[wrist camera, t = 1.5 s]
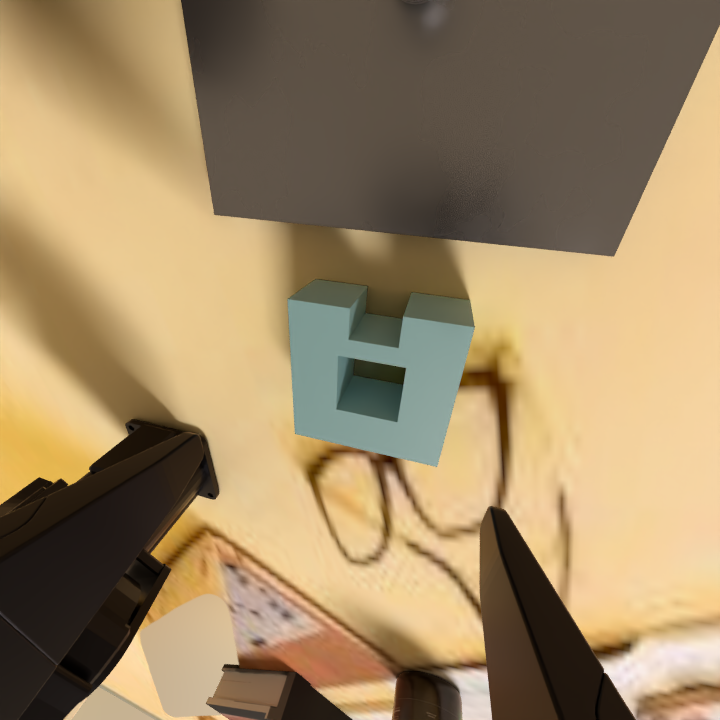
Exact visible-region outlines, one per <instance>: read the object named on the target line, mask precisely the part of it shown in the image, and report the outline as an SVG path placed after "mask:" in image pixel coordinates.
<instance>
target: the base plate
mask: <svg viewBox="0 0 720 720" xmlns="http://www.w3.org/2000/svg"><path fill="white" fill-rule="evenodd" d="M181 3H182V9H183V16H184V22H185V29H186V35H187V42H188V48H189V54H190V61H191V67H192V74H193V80H194V87H195V93H196V100H197V106H198V112H199V119H200V125H201V132H202V138H203V145H204V151H205V157H206V164H207V170H208V177H209V183H210V190H211V196H212V203H213V209H214V215H221V216H231V217H240V218H250V219H260V220H269V221H279V222H288V223H298V224H307V225H317V226H327V227H336V228H346V229H355V230H365V231H375V232H384V233H394V234H403V235H413V236H422V237H432V238H442V239H451V240H461V241H470V242H480V243H490V244H499V245H509V246H518V247H528V248H538V249H547V250H557V251H566V252H576V253H585V254H595V255H605V256H614V255H615V253H616V251H617V249H618V247H619V244H620V242H621V240H622V238H623V236H624V233H625V231H626V229H627V227H628V225H629V223H630V220H631V218H632V216H633V214H634V212H635V209H636V207H637V205H638V203H639V201H640V198H641V196H642V194H643V192H644V190H645V187H646V185H647V183H648V181H649V179H650V176H651V174H652V172H653V170H654V168H655V166H656V163H657V161H658V159H659V157H660V155H661V152H662V150H663V148H664V146H665V144H666V141H667V139H668V137H669V135H670V133H671V130H672V128H673V126H674V124H675V122H676V120H677V117H678V115H679V113H680V111H681V109H682V106H683V104H684V102H685V100H686V98H687V95H688V93H689V91H690V89H691V87H692V84H693V82H694V80H695V78H696V76H697V73H698V71H699V69H700V67H701V65H702V63H703V60H704V58H705V56H706V54H707V52H708V49H709V47H710V45H711V43H712V41H713V38H714V36H715V34H716V32H717V30H718V27H719V25H720V0H181Z"/></svg>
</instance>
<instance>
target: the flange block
mask: <svg viewBox="0 0 720 720" xmlns="http://www.w3.org/2000/svg"><path fill="white" fill-rule="evenodd" d="M367 288H368V286H363V285H355V284H348V283H341V282H333V281H326V280H319V279H315V280H314V281H312V282H311V283H309V284H308V285H307V286H305V287H304V288H302V289H301V290H300V291H298V292H297V293H295V294H294V295H293V296H291V297H290V298H288V316H289V334H290V352H291V370H292V389H293V407H294V425H295V434H298V435H302V436H306V437H311V438H315V439H319V440H324V441H328V442H332V443H336V444H341V445H345V446H349V447H354V448H358V449H362V450H367V451H371V452H375V453H379V454H384V455H388V456H392V457H397V458H401V459H405V460H410V461H414V462H418V463H422V464H427V465H431V466H435V467H437V466H438V462H439V458H440V454H441V451H442V447H443V443H444V440H445V436H446V432H447V428H448V425H449V421H450V417H451V414H452V410H453V406H454V402H455V399H456V395H457V391H458V388H459V384H460V380H461V376H462V373H463V369H464V365H465V362H466V358H467V354H468V350H469V347H470V343H471V339H472V336H473V332H474V328H475V326H474V320H473V314H472V309H471V303H470V300H465V299H458V298H451V297H443V296H436V295H429V294H421V293H414V292H412V293H411V296H410V298H409V301H408V304H407V307H406V310H405V313H404V316H403V319H401V318H395V317H388V316H382V315H375V314H368V313H366V301H367ZM354 359H359V360H365V361H370V362H376V363H381V364H387V365H392V366H398V367H404V368H406V372H405V379H404V385H402V384H397V383H392V382H387V381H381V380H376V379H371V378H366V377H360V376H355V375H354Z"/></svg>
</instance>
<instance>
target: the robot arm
mask: <svg viewBox="0 0 720 720" xmlns="http://www.w3.org/2000/svg"><path fill="white" fill-rule="evenodd" d="M125 426H126V429H127V431H128V433H129V436H128V437H126V438H125V439H124V440H122V441H121V442H120V443H119V444H117V445H116V446H115V447H114V448H112V449H111V450H110V451H108V452H107V453H106V454H105V455H103V456H102V457H101V458H100V459H98V460H97V461H96V462H94V463H93V464H92V465H91V466H90V467H89V470H90V472H88V473H87V474H86V475H85V476H83V477H82V478H81V479H80V480H78V481H77V482H76V483H74V484H72V485H69V486H67V485H68V484H67V483H66V482H65V481H64V480H63V479H59V480H57V481H56V482H54V483H52V482H51V481H48V480H45V479H42V478H40V477H39V478H37V479H36V480H35V481H33V482H32V483H30V484H29V485H28V486H26V487H25V488H23V489H22V490H21V491H19V492H18V493H16V494H15V495H14V496H12V497H11V498H9V499H8V500H7V501H5V502H4V503H3V504H1V505H0V720H63V719H64V718H65V717H66V716H67V715H68V714H69V713H70V712H71V711H72V710H73V709H74V708H75V707H76V706H77V705H78V704H79V703H80V702H82V701H83V700H84V699H85V698H87V697H88V696H89V695H90V694H91V693H92V692H93V691H94V690H95V689H96V688H97V687H98V686H99V685H100V684H101V683H102V682H103V681H104V680H105V678H106V677H107V676H108V675H109V674H110V672H111V671H112V670H113V669H114V667H115V666H116V665H117V663H118V662H119V661H120V659H121V658H122V656H123V655H124V653H125V652H126V650H127V648H128V647H129V645H130V643H131V642H132V640H133V638H134V636H135V634H136V633H137V631H138V629H139V627H140V625H141V624H142V622H143V620H144V618H145V616H146V615H147V613H148V611H149V609H150V607H151V606H152V604H153V602H154V600H155V598H156V597H157V595H158V593H159V591H160V589H161V588H162V586H163V584H164V582H165V580H166V579H167V577H168V575H169V573H170V571H171V568H170V567H168V566H167V565H166V564H162V563H161V562H159V561H158V560H157V559H156V558H155V557H153V556H152V555H151V552H152V551H153V550H154V549H155V547H156V546H157V545H158V544H159V542H160V541H161V540H162V539H163V537H164V536H165V535H166V534H167V533H168V531H169V530H170V529H171V528H172V526H173V525H174V524H175V523H176V521H177V520H178V519H179V518H180V516H181V515H182V514H183V513H184V512H185V510H186V509H187V508H188V507H189V505H190V504H191V503H192V502H193V500H194V499H195V498H196V497H197V495H199V496H202V497H206V498H209V499H216V498H217V496H218V495H219V489H218V485H217V481H216V477H215V473H214V469H213V465H212V461H211V457H210V453H209V449H208V445H207V442H206V440H205V439H204V438H203V437H202V436H199V435H198V434H195V433H191V432H183V431H179V430H175V429H171V428H167V427H163V426H159V425H155V424H151V423H147V422H143V421H139V420H135V419H131V420H130V421H128V422H127V423H126V424H125ZM480 601H481V612H482V622H483V632H484V641H485V651H486V661H487V671H488V681H489V691H490V701H491V711H492V720H636V719H635V718H634V716H633V714H632V713H631V711H630V710H629V708H628V707H627V705H626V704H625V702H624V700H623V699H622V697H621V696H620V694H619V692H618V691H617V689H616V688H615V686H614V684H613V683H612V681H611V679H610V678H609V676H608V675H607V674H606V673H604V668H603V667H602V665H601V664H600V662H599V660H598V659H597V657H596V655H595V654H594V652H593V651H592V649H591V647H590V646H589V644H588V643H587V641H586V639H585V638H584V636H583V634H582V633H581V631H580V630H579V628H578V626H577V625H576V623H575V621H574V620H573V618H572V617H571V615H570V613H569V612H568V610H567V609H566V607H565V605H564V604H563V602H562V600H561V599H560V597H559V596H558V594H557V592H556V591H555V589H554V588H553V586H552V584H551V583H550V581H549V579H548V578H547V576H546V575H545V573H544V571H543V570H542V568H541V566H540V565H539V563H538V562H537V560H536V558H535V557H534V555H533V554H532V552H531V550H530V549H529V547H528V545H527V544H526V542H525V541H524V539H523V537H522V536H521V534H520V533H519V531H518V529H517V528H516V526H515V524H514V523H513V521H512V520H511V518H510V516H509V515H508V513H507V512H506V511H505V510H504V509H501V508H497V507H493V506H490V507H488V509H487V511H486V513H485V516H484V518H483V520H482V523H481V527H480Z"/></svg>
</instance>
